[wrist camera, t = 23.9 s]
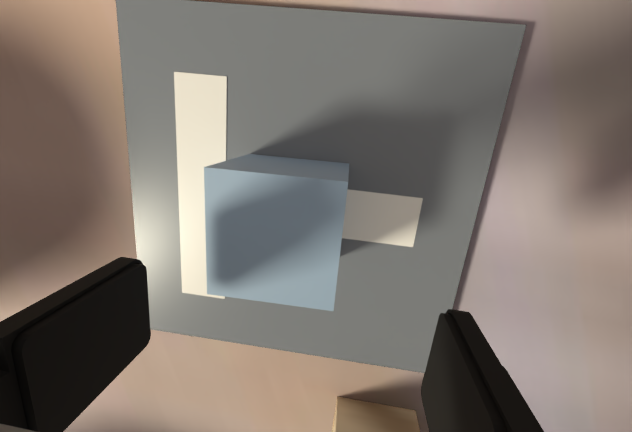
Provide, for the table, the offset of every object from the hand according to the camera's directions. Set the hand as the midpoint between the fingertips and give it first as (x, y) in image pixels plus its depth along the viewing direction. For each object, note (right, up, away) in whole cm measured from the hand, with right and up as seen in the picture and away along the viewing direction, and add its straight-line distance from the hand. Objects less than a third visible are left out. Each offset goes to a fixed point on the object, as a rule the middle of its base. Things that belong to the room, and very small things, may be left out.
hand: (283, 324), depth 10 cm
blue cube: (0, +4, +6) cm, 7 cm away
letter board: (0, +4, +7) cm, 8 cm away
